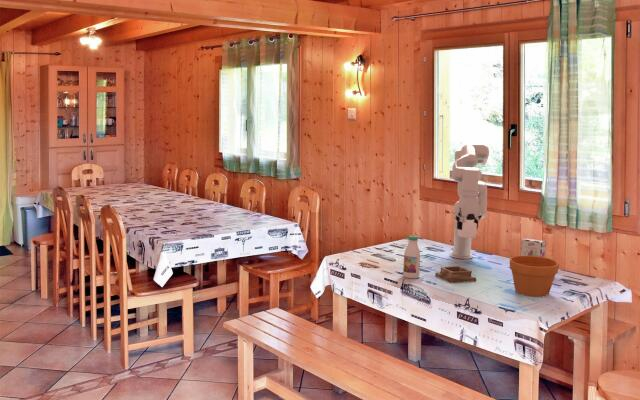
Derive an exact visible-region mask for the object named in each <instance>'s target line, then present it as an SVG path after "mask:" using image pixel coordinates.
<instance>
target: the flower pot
mask: <svg viewBox="0 0 640 400" xmlns="http://www.w3.org/2000/svg"><path fill="white" fill-rule="evenodd" d="M559 266H560V263H559V261H557V260H555V259H552V258H550V257H546V256H545V257H539V256H521V255H514V256H512V257H510V258H509V269H510V270H511V273H512V280H513V286H514V290H515V292H516V293H517V294H519V295H522V296H526V297H532V298H533V297H534V298H536V297H537V298H543V296H544V297H547V296H549V294H550V292H551V289H552V286H553V283H554V280H555V278H556V275H557V274H558V272H559V268H560V267H559Z"/></svg>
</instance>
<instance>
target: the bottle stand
mask: <svg viewBox="0 0 640 400" xmlns="http://www.w3.org/2000/svg"><path fill="white" fill-rule="evenodd" d="M434 274H435V275H434V276H436V277H437V278H440V279H442V280H444V281H446V282H448V283H450V284H452V283H453V284H454V283H468V281H469V282H476V281H477V277H475V276H473V275H472V274H473V272H472V270H471V269H468V268H465V267H463V266H460V265H454V266H452V265H451V266H440V271H439V272H435V273H434Z"/></svg>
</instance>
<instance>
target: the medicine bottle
mask: <svg viewBox="0 0 640 400" xmlns="http://www.w3.org/2000/svg"><path fill="white" fill-rule="evenodd" d="M461 222H462V230H460V229H458V235H459V236H460V237H462V238H471V239H477V230H478V229H477V224H476V223H474V214H468V215H467V217H464V218H463V219H462V221H461Z"/></svg>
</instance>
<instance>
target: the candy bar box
mask: <svg viewBox="0 0 640 400" xmlns="http://www.w3.org/2000/svg"><path fill="white" fill-rule="evenodd" d="M546 245H547V241H546V240H540V239H533V238H528V237H527V238H525V237H524V238H522V239H521V247H520V256H539V257H545V258H546Z"/></svg>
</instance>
